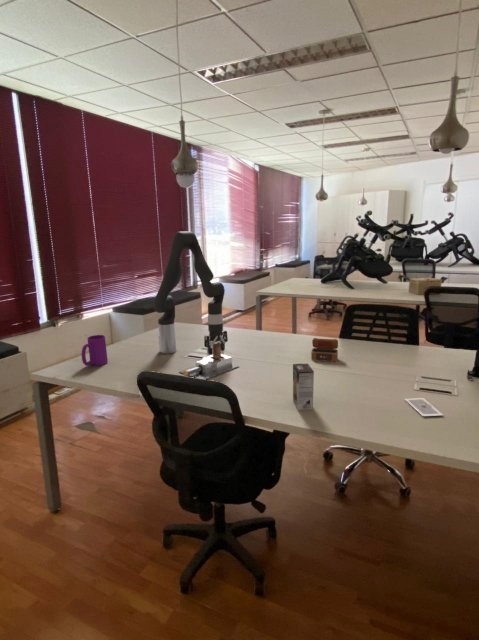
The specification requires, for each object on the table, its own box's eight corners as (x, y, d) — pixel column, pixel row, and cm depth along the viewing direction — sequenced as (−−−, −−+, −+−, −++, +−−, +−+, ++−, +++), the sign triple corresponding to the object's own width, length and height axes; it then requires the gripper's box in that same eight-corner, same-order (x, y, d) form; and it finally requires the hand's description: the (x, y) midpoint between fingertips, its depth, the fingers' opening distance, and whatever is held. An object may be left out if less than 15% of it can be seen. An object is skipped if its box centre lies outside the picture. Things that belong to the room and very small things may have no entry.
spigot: (212, 365, 202) (211, 343, 199) (217, 363, 205) (216, 342, 202) (217, 367, 199) (216, 345, 196) (222, 365, 202) (222, 343, 199)
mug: (111, 361, 215) (108, 335, 212) (90, 371, 201) (87, 343, 198) (98, 359, 219) (95, 334, 215) (77, 369, 205) (73, 341, 201)
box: (294, 366, 200) (294, 345, 198) (302, 350, 226) (302, 331, 224) (350, 371, 192) (351, 348, 189) (352, 353, 218) (352, 333, 215)
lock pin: (183, 375, 188) (182, 370, 187) (203, 368, 197) (203, 363, 196) (187, 377, 186) (186, 371, 185) (207, 369, 195) (207, 364, 194)
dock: (179, 372, 195) (178, 362, 194) (215, 359, 213) (214, 350, 212) (203, 381, 183) (202, 371, 182) (239, 366, 201) (238, 357, 200)
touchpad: (422, 418, 143) (423, 413, 143) (404, 401, 158) (404, 396, 157) (443, 417, 143) (443, 412, 143) (422, 400, 158) (423, 395, 158)
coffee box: (292, 400, 160) (292, 363, 157) (307, 399, 161) (308, 362, 157) (297, 410, 151) (297, 371, 148) (313, 409, 152) (314, 370, 148)
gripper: (220, 318, 204) (221, 347, 208) (199, 323, 194) (201, 354, 198) (230, 320, 199) (231, 350, 203) (210, 325, 189) (211, 357, 193)
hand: (216, 352), depth 200 cm, fingers open, 8 cm apart
